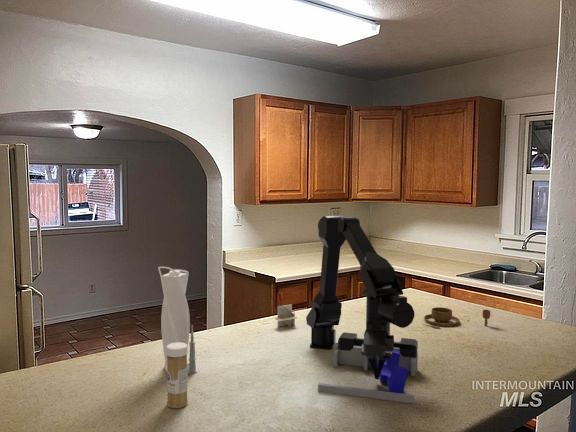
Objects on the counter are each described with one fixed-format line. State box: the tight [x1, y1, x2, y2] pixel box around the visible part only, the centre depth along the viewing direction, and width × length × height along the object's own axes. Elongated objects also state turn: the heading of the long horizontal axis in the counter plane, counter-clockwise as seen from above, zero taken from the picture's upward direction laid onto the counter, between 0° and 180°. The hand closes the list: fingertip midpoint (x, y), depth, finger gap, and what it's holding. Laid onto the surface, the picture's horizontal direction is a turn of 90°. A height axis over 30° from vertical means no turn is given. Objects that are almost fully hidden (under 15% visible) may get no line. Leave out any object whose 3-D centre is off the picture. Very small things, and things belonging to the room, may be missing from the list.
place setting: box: [422, 306, 491, 329], centre depth 167 cm, size 18×20×6 cm
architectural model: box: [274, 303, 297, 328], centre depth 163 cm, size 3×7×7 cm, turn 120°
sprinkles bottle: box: [166, 342, 189, 409], centre depth 106 cm, size 5×5×13 cm
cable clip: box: [379, 351, 408, 394], centre depth 118 cm, size 12×4×6 cm, turn 176°
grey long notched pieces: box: [317, 340, 419, 404], centre depth 120 cm, size 22×20×7 cm
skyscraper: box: [157, 266, 198, 376], centre depth 125 cm, size 8×8×28 cm
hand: (377, 378), depth 118 cm, fingers closed
